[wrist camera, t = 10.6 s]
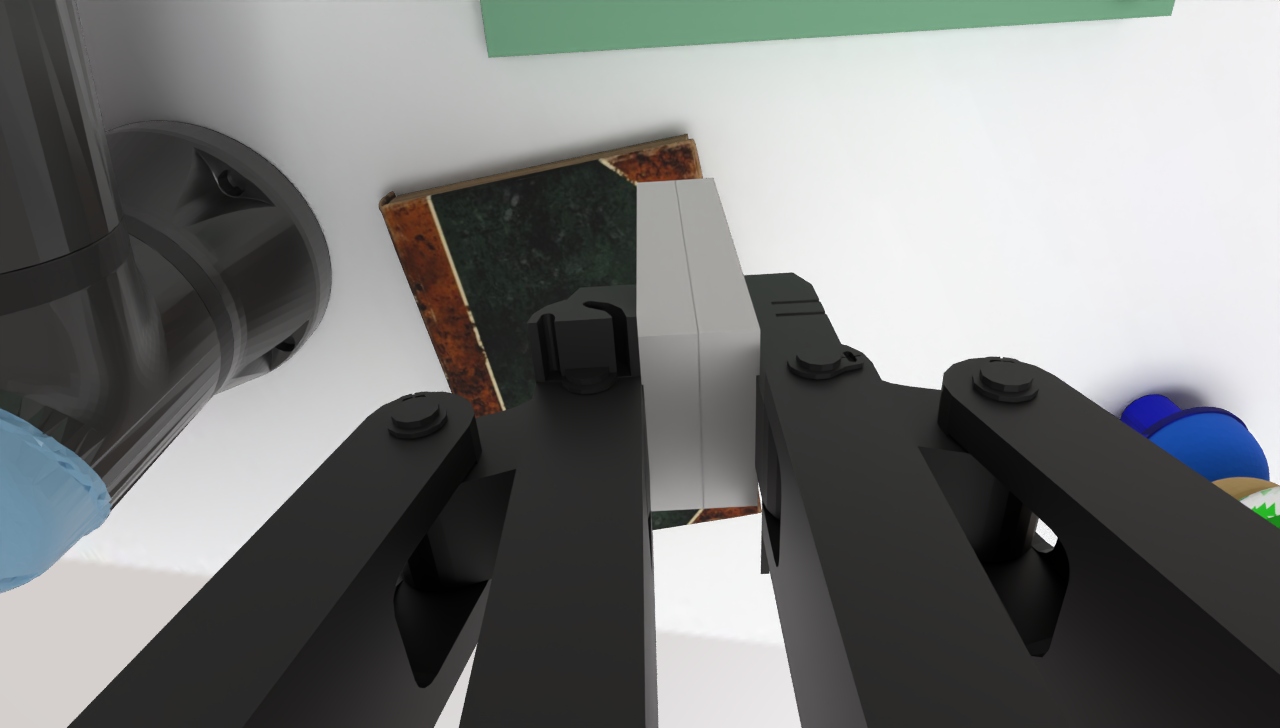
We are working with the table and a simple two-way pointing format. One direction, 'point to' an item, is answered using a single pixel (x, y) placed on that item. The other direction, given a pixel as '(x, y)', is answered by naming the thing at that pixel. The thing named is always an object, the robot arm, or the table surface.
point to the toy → (1210, 449)
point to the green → (762, 20)
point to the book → (527, 264)
